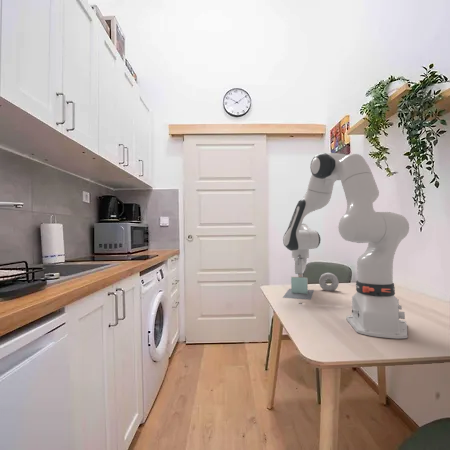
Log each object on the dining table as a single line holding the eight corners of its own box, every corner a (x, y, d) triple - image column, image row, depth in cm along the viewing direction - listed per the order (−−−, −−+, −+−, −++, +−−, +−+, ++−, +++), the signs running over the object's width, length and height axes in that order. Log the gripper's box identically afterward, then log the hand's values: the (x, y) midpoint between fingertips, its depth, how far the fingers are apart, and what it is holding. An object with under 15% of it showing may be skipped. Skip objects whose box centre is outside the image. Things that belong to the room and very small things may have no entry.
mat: (310, 300, 130) (310, 299, 130) (282, 298, 134) (282, 297, 134) (313, 291, 150) (313, 290, 150) (289, 289, 155) (289, 288, 155)
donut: (318, 291, 150) (318, 272, 151) (319, 289, 153) (319, 271, 154) (338, 293, 145) (338, 273, 146) (339, 291, 148) (339, 272, 149)
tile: (307, 293, 142) (307, 277, 142) (291, 292, 145) (291, 277, 145) (307, 293, 143) (307, 277, 144) (291, 291, 146) (291, 276, 146)
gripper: (304, 256, 139) (305, 284, 139) (307, 253, 158) (308, 277, 158) (291, 255, 141) (292, 283, 141) (296, 252, 160) (296, 277, 160)
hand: (300, 280), depth 149 cm, fingers closed
